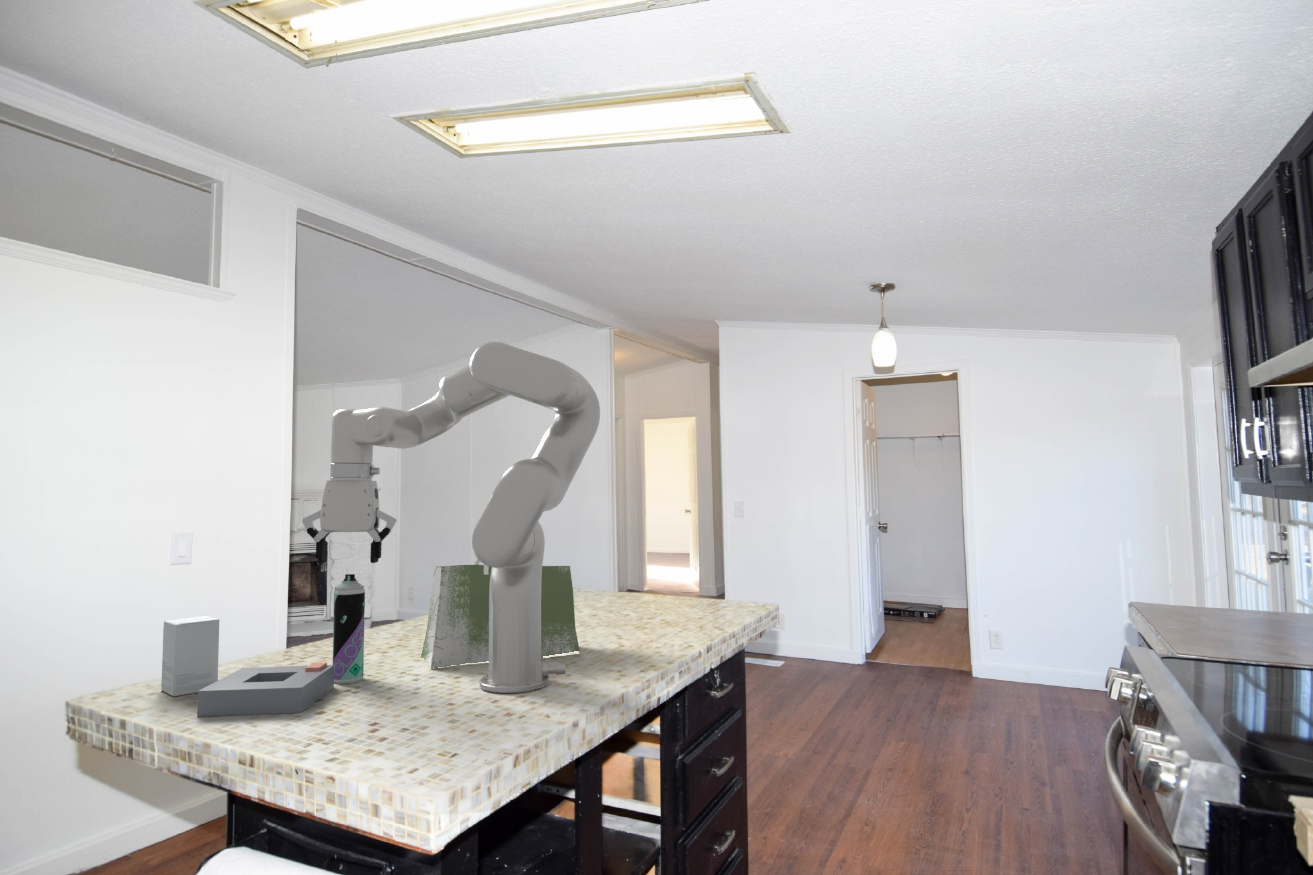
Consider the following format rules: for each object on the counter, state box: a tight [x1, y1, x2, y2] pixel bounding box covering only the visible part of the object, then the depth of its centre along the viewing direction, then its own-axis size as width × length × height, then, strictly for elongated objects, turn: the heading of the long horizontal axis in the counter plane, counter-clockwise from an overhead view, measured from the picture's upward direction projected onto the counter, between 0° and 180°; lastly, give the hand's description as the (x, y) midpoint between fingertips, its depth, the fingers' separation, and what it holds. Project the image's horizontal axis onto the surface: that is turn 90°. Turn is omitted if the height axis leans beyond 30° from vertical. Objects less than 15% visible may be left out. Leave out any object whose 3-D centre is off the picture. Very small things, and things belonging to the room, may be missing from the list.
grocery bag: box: [420, 557, 581, 670], centre depth 163 cm, size 32×14×23 cm, turn 114°
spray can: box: [332, 573, 366, 685], centre depth 143 cm, size 6×6×20 cm
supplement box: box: [160, 615, 220, 697], centre depth 137 cm, size 7×7×13 cm
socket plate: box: [196, 661, 335, 717], centre depth 129 cm, size 16×16×5 cm
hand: (348, 562), depth 144 cm, fingers open, 9 cm apart
